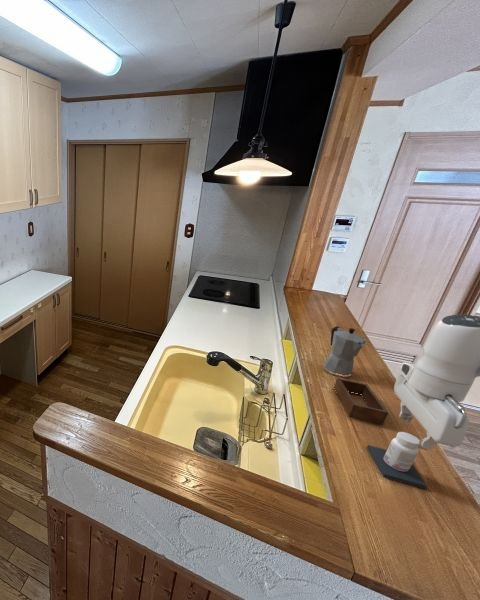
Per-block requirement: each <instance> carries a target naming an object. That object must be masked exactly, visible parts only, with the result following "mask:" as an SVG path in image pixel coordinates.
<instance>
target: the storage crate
mask: <svg viewBox="0 0 480 600" xmlns="http://www.w3.org/2000/svg"><path fill="white" fill-rule="evenodd" d="M334 388H335V389H334ZM335 390H336V391H335ZM333 391H334V393H335V395H336V396H337V398H338V400H339V402H340V404H341V406H342V407H343V409H344V411H345V413H346V415H347V417H349V418H351V419H356V420H360V421H363V422H369V423H372V424H377V425H380V426H384V424H385V422H386V420H387V418H388V415H389V411H388V410H387V409H386V407H385V406H384V404H383V403H382V402H381V400H380V399H379V398H378V396H377V395H376V394H375V392H374V391H373V390H372V388H371V387H370V385H369V384H368V383H363V382H358V381H354V380H349V379H346V378H341V377H337V378H336V381H335V383H334V385H333ZM348 391H349V392H348ZM336 392H337V393H336ZM351 392H354V393H351ZM355 393H358V394H355ZM360 394H362V395H360ZM352 395H355V396H359V397H360V398H362V401H363V402H364V403H365V405H362V404H359V403H356V402H355V400H354V399H353V397H352ZM362 396H363V397H362ZM364 399H365V400H364ZM366 402H367V403H366Z"/></svg>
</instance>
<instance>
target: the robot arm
mask: <svg viewBox="0 0 480 600" xmlns="http://www.w3.org/2000/svg"><path fill="white" fill-rule="evenodd" d="M399 370H400V371H399V373H398V375H397V378H396V380H395V383H394V386H393V391H394V394H395V395H396V397H398V399H399V400H400V401H401V402H400V413H399V415H398V418H399V419H400V420H401V421H402V422H404V423H411V422H412V420H413V419H414V418H415V420H417V422H418V423H419V424H420V425H421V427H423V429H424V430H425V431H426V433H425V435H426V437H420V438H419V440H420V441H419V444H420V445H419V446H421V448H423V449H424V450H429V451H431V450H432V449H433V448H434V446H435V445H437V444H441V445H445V446H448V447H453V448H456V447H459V446H461V445H462V443H463V442H464V439H465V437H466V434H467V432H468V429H469V425H470V419H469V415H468V414H467V413H466V407H465V406H464V405H462V404H461V403H462V402H464V400H465V399H466V397H467V395H468V394H469V392H470V390H471V388H472V386H473V385H474V382H475V381H476V379H477V378H479V377H480V316H478V315H472V314H451V315H446V316H444V317H442V318H441V319H440V320H438V322H437V323H436V324H435V325H434V327H432V330H431V331H430V333H429V335H428V336H427V338H426V341H425V343H424V345H423V348H422V355H421V357H420V358H418V360H417V361H416V363H411V362H405V361H403V362H402V363H401V364H400V367H399ZM413 417H414V418H413Z"/></svg>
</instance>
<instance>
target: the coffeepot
mask: <svg viewBox="0 0 480 600" xmlns="http://www.w3.org/2000/svg"><path fill="white" fill-rule="evenodd" d="M355 332H356V329H355V328H352V327H350V328H348V331H346V330H345V329H343V328H341V327H340V326H338V325H337V326H334V327H332V328H331V334H330V346H331V352H329V354H328V355H327V357H326V358H325V360H324V361H323V362H322V364H321V366H322V369H323V370H324V371H325V372H326V373H328V374H330V375H332V376H335V377H337V378H342V379H349V378H350V377H351V376H348V377H343V376H339V375H335V374H332V373H330V372H329V371H331V372H333V373H338V374H342V375H349V374H352V375H353V368H354V362H355V361H354V358H355V357H357V356H358V354H359V353H360V351H361V349H362V348H363V347H364V346H365V344H366V342H367V341H366V339H365V337H363V336H362V335H359V334H357V333H355ZM323 365H324V368H326V369H328V370H329V371H327V370H325V369H324V368H323Z"/></svg>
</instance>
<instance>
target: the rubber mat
mask: <svg viewBox="0 0 480 600" xmlns="http://www.w3.org/2000/svg"><path fill="white" fill-rule="evenodd" d="M366 449H367V451H368V452H369V455H370V456H371V458H372V459H373V461H374V463H375V465H376V467H377V469H378V471H379V472H380V474H381V476H382V477H383V478H385V479H390V480H393V481H396V482H400V483H403V484H405V485H406V484H407V485H410V486H413V487H417V488H419V489H423V490H426V489H427V488H428V484H427V483H426V481H424V479H423V477H422V476H421V474H419V472H418V470H417V469H416V467H415V466H414V465H413V464H412V465H411V467H410V469H409V470H408V471H405V472H404V471H399V470H396V469H394V468H392V467H391V466H389V465H388V464H387V463H386V462H385V461H384V455H385V453H386V451H387V449H384V448H381V447H378V446H374V445H371V444H368V445H367V446H366Z"/></svg>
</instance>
